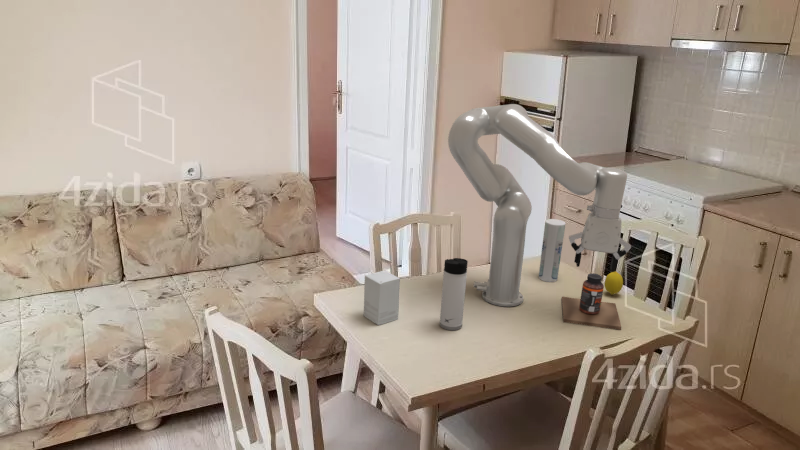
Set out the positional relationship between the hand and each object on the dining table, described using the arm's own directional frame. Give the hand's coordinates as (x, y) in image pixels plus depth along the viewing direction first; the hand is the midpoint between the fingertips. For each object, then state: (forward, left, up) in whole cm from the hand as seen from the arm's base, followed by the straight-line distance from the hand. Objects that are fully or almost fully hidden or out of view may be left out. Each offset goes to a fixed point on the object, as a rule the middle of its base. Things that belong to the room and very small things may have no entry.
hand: (594, 267), depth 186 cm
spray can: (-11, +24, -15) cm, 30 cm away
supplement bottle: (0, 0, -14) cm, 14 cm away
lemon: (+9, +17, -15) cm, 24 cm away
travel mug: (-38, -20, -15) cm, 46 cm away
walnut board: (+1, 0, -15) cm, 15 cm away
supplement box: (-58, -21, -15) cm, 64 cm away
